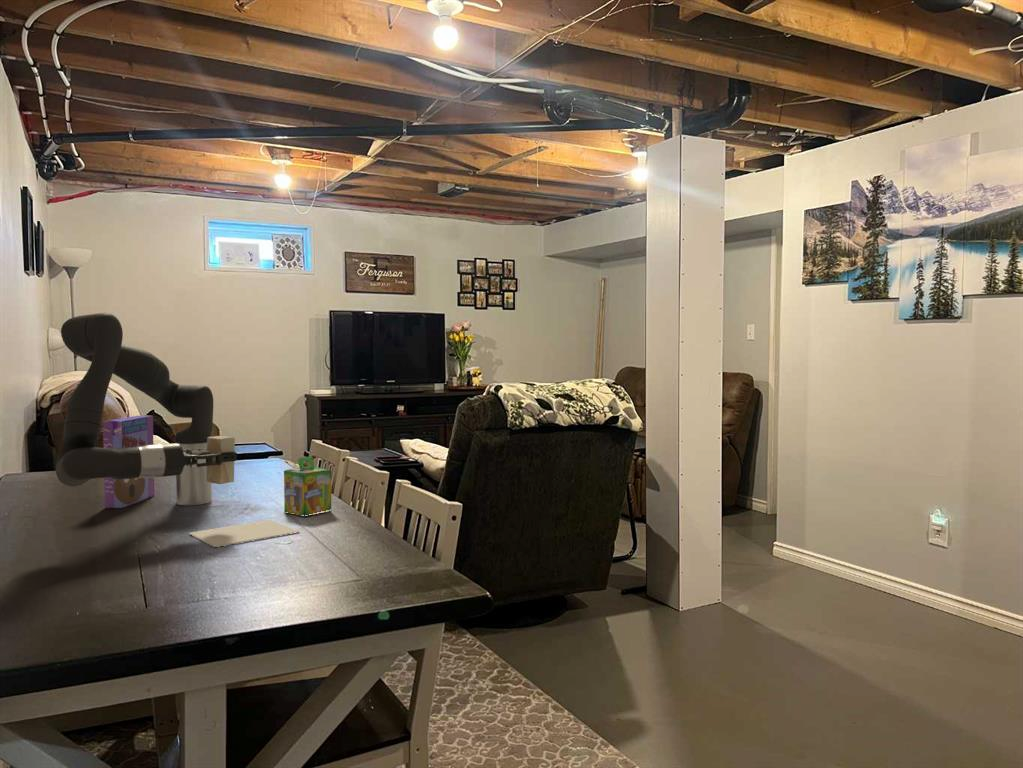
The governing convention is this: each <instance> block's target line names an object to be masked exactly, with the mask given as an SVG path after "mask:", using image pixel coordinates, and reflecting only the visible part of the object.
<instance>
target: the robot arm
mask: <svg viewBox="0 0 1023 768" xmlns="http://www.w3.org/2000/svg"><path fill="white" fill-rule="evenodd" d="M123 333H124V332H123V326H122V323H121V322H120V320H119V319H118V318H117V317H116V315H114V314H112V313H110V312H100V313H99V312H98V313H91V314H84V315H78V316H73V317H71V318H68V319H67V320H66V321H65V322H63V324H62V325H61V328H60V335H61V339H62V341H63V343H64V345H65V347H66V348H67V349H68V350H69V351H70V352H71V353H73V354H75V356H78V357H80V358H82V359H84V360H86V361H88V362H90V363H91V364H90V365H89V367H88V369H87V371H86V373H85V374H84V376H83V378H82V379H81V380H80V382H79V383H78V384H77V386H76V388H75V389H74V391H73V392H72V394H71V395H70V397H69V400H68V403H67V406H66V411H65V412H66V413H65V418H64V425H63V434H62V435H63V437H62V440H61V444H60V447H59V451H58V456H57V459H56V463H55V475H56V477H57V479H58V481H60V483H62V484H63V485H65V486H67V487H71V488H73V487H79V486H83V485H85V483H87V482H88V481H89V480H93V479H104V478H106V477H110V478H112V479H117V480H120V479H132V478H154V479H155V478H162V477H163V478H164V477H175V485H176V486H175V487H176V488H175V492H176V493H175V497H176V499H175V501H176V502H175V503H176V505H179V506H198V505H204V504H205V503H206V504H209V503H212V501H213V499H212V497H213V495H212V491H213V490H212V485H213V483H209V482H207V466H210V465H220V464H222V462H230V461H234V462H236V461H237V460H238V456H237V455H238V453H237V452H236V451H234V452H224V453H220V452H218V453H211V451H207V437H212V433H213V427H214V426H213V425H214V422H213V421H214V396H213V395H214V394H213V392H212V390H211V388H210V387H209V386H207V385H201V384H199V385H196V384H195V385H194V384H192V385H191V384H178V383H176V382H174V381H173V380H171V379H170V377H171V375H170V370H169V368H168V366H167V365H166V364H165V362H164V361H162V360H161V359H159V357H157V356H155V355H154V354H152V352H151V353H150V351H147V350H144V349H141V348H139V347H135V346H131V345H126V344H123ZM113 375H115V376H117V377H118V378H119V379H122V380H123V381H124V382H126V383H127V384H129V385H130V386H132V387H133V388H135V389H136V390H139V391H140V392H142V393H143V394H144V395H147V396H148V397H150V398H151V399H153V400H155V401H156V402H157V403H159V404H160V405H161V407H163V408H164V409H165V410H167V411H168V412H169V413H170V414H171V415H173V416H174V417H177V418H183V419H191V424H190V425H189V426H188V427H187V428H185V429H182V430H179V431H177V432H176V433H175V436H174V439H175V440H174V441H175V442H174V443H161V444H153V445H145V446H140V447H128V448H118V449H110V448H104V447H96V443H97V442H98V439H99V437H100V435H101V429H102V424H103V422H102V421H103V416H104V413H103V412H104V407H105V401H106V396H107V393H108V389H109V385H110V383H111V380H112V377H113ZM213 457H216V461H212V458H213Z"/></svg>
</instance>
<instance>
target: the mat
mask: <svg viewBox="0 0 1023 768" xmlns="http://www.w3.org/2000/svg"><path fill="white" fill-rule="evenodd" d="M299 531H300V530H298V529H294V528H293V527H290V526H288V525H284V524H282V523H280V522H277V521H275V520H273V519H267V520H261V521H255V522H254V521H253V522H247V523H241V524H235V525H229V526H223V527H217V528H212V529H205V530H203V529H202V530H198V531H192V532H191V531H190V532H188V535H189V536H191V535H192V536H191V537H193V538H195V539H197V540H198V539H199V540H198V541H200V540H201V542H202V541H203V543H204V542H205V544H206V543H207V545H208V544H209V545H208V546H210V545H211V547H212V546H213V547H212V548H214V547H218V548H221V547H220V546H224V545H229V546H231V545H230V544H235V545H237V544H236V543H241V542H246V543H248V542H247V541H252V540H258V539H263V540H265V539H264V538H269V537H274V538H276V537H275V536H280V535H285V534H290V533H294V532H299ZM280 537H281V536H280ZM269 539H270V538H269ZM258 541H259V540H258ZM252 542H253V541H252ZM241 544H242V543H241ZM224 547H225V546H224Z"/></svg>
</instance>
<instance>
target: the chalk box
mask: <svg viewBox="0 0 1023 768" xmlns="http://www.w3.org/2000/svg"><path fill="white" fill-rule="evenodd" d="M313 458H314V457H313V456H311V455H309V456H304V457H298V461H297V462H298V465H299V467H298V468H291V469H284V471H283V485H284V486H283V487H284V488H283V492H284V494H283V495H284V497H283V498H284V508H283V509H284V511H283V512H284V513H285V512H288V513H294V514H298V515H304V516H305V515H309V514H313V513H317V512H321V511H326V510H330V509H331V510H332V470H331V469H326V468H322V467H315V465H314V459H313ZM305 462H308V463H309V465H307V466H305V465H304V463H305ZM298 515H297V516H298Z"/></svg>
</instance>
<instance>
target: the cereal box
mask: <svg viewBox="0 0 1023 768" xmlns="http://www.w3.org/2000/svg"><path fill="white" fill-rule="evenodd" d="M102 429H103V431H102V433H103V435H102V436H103V448H110V449H118V448H128V447H140V446H145V445H154V415H148V414H147V415H145V414H144V415H143V414H140V415H134V416H129V417H127V416H126V417H122V418H117V419H116V418H115V419H110V420H105V421H103V422H102ZM103 480H104V509H107V508H123V509H125V508H127V506H128V507H129V505H130V506H133V505H135V504H138V503H140V502H143V501H145V500H144V499H146V500H148V499H150V497H151V498H153V497H155V477H154V478H132V479H120V480H117V479H112V478H110V477H106V478H103ZM152 496H153V497H152ZM147 498H148V499H147ZM142 500H143V501H142ZM139 501H140V502H139ZM137 502H138V503H137ZM132 504H133V505H132ZM124 507H125V508H124Z"/></svg>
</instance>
